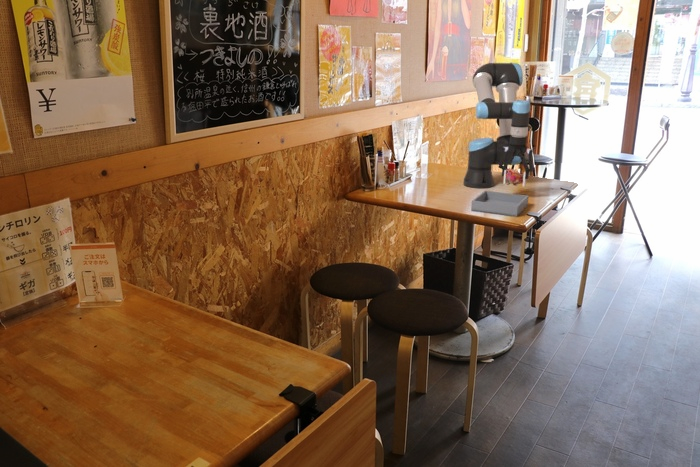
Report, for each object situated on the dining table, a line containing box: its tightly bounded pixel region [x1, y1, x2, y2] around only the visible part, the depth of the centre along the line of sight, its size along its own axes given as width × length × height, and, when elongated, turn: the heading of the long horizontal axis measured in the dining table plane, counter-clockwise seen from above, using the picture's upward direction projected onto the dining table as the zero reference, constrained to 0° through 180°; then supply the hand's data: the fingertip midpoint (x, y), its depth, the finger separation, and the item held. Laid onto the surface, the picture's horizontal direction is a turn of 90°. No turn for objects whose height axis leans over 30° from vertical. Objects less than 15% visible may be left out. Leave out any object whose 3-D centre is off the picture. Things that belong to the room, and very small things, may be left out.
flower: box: [505, 167, 524, 187], centre depth 266 cm, size 10×9×8 cm
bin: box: [470, 190, 529, 218], centre depth 251 cm, size 20×20×4 cm
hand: (514, 184), depth 267 cm, fingers closed on flower, 8 cm apart
